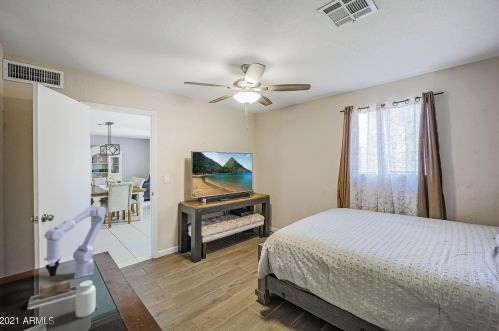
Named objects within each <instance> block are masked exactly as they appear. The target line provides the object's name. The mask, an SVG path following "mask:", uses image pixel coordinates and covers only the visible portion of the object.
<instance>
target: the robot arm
mask: <svg viewBox="0 0 499 331" xmlns="http://www.w3.org/2000/svg"><path fill="white" fill-rule="evenodd" d="M106 213H107V209H106V207H104V206H98V205H92V204H91V205H90V206H89V207H86V208H85V210H84V211H82V212H81V213H79V214H77V215H76V216H74V218H72V219H66V220H63V222H62V223H59V225H56V226H54V228H50V229H48V230H47V231H46V232H45V234H44V238H45V239H46V257H45V258H44V259H43V261H47V263H49V264H46V265H45V269H46V270H47V271H48V276H49V277H50V278H51V277H56V274H57V271H58V270H57V269H58V267H59V265H60V260H61V258H62V255H61V254H62V253H61V248H62V244H61V243H62V240H61V239H62V238H63V237H64V235H65V234H66V233H68V232H69V231H71V230H72V229H73V228H75V227H76V224H78V223H80V222H81V221H83V220H84V219H87V218H89V217H91V218H92V219H93V222H92V223H91V226H90V228H89V230H88V232H87V234H86V236H85V238H84V241H82V242H83V243H82V244H81V245H79V246H78V247H77V249H76V250H75V251H74V252H73V254H72V258H73V260H75V272H74V275H73V276H74V277H73V279H79V278H82V277H83V278H84V277H88V276H91V275H93V274H94V269H95V267H94V258H93V255H94V247H93V244H94V243H95V241H96V238H97V236H98V234H99V232H100V230H101V229H102V228H101V227H102V226H103V224H104V222H105V217H106Z"/></svg>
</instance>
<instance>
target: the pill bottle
mask: <svg viewBox="0 0 499 331" xmlns="http://www.w3.org/2000/svg"><path fill="white" fill-rule="evenodd" d="M78 285H79V284H78ZM96 290H97V289H96V286H95V285H94V284H93V280H90V279H89V280H88V279H87V280H84V281H82V282H81V283H80V285H79V289H78V290H77V292H76V297H75V315H76V317H77V318H84V317H88V316H89V315H91V314H93V313H94V312H95V310H96V299H97V298H96V297H97V296H96V293H97V291H96Z"/></svg>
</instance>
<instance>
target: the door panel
mask: <svg viewBox="0 0 499 331" xmlns="http://www.w3.org/2000/svg"><path fill="white" fill-rule="evenodd" d="M70 287H71V279H68V280H63V281H60V282H59V281H58V282H55V283H52V284H45V285H42V286H40V287H39V294H40V295H39V294H38V295H39V300H41V299H44V298H48V297H52V296H56V295H59V294H63V293H67V292H70Z"/></svg>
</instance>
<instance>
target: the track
mask: <svg viewBox="0 0 499 331" xmlns="http://www.w3.org/2000/svg"><path fill="white" fill-rule="evenodd" d="M80 284H81V283H80ZM80 284H79V283H78V284H76V285H70V292H67V293H63V294H59V295H56V296H52V297H48V298H44V299H41V300H39V295H40V293H38V294H36V295H32V296H30V297H29V300H28V303H27V310H28V309H30V310H33V309H36V308H41V307H44V306H48V305H50V304H54V303H59V302H62V301H66V300H68V299H69V300H70V299H73V298H76V292H77V290H78V289H79V285H80Z"/></svg>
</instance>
